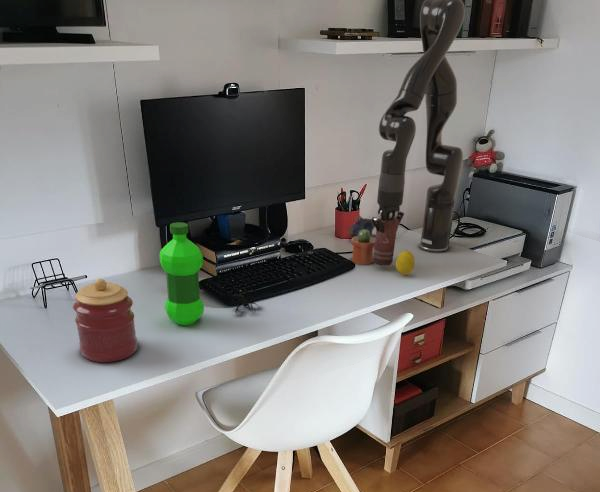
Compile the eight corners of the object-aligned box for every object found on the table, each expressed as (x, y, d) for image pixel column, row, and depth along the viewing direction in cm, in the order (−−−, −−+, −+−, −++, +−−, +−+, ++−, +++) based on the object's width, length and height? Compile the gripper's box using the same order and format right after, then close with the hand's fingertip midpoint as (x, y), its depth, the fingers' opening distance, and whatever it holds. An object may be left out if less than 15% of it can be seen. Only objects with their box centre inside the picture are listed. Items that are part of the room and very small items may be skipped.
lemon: (415, 274, 202) (418, 249, 198) (409, 280, 198) (413, 254, 194) (397, 271, 204) (400, 246, 200) (392, 276, 200) (395, 251, 196)
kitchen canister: (73, 362, 148) (61, 289, 139) (89, 337, 159) (78, 268, 150) (131, 364, 148) (122, 291, 139) (142, 338, 159) (135, 269, 150)
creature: (264, 314, 176) (245, 299, 180) (267, 297, 173) (248, 282, 177) (242, 322, 172) (223, 307, 175) (245, 305, 168) (225, 290, 172)
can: (393, 266, 202) (400, 221, 195) (373, 265, 202) (378, 219, 195) (391, 260, 208) (397, 216, 201) (371, 259, 207) (377, 214, 200)
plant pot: (361, 255, 216) (363, 224, 211) (379, 261, 212) (382, 230, 206) (345, 260, 212) (347, 229, 206) (363, 266, 207) (366, 235, 201)
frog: (340, 238, 231) (341, 216, 227) (365, 232, 237) (366, 211, 233) (359, 245, 224) (361, 223, 220) (384, 239, 231) (386, 217, 227)
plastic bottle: (157, 318, 169) (149, 223, 156) (193, 309, 175) (188, 216, 162) (176, 333, 163) (169, 234, 150) (213, 323, 168) (209, 226, 155)
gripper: (386, 193, 187) (380, 252, 196) (415, 187, 195) (408, 244, 204) (366, 188, 192) (362, 246, 201) (395, 182, 200) (389, 238, 209)
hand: (385, 245), depth 202 cm, fingers closed
